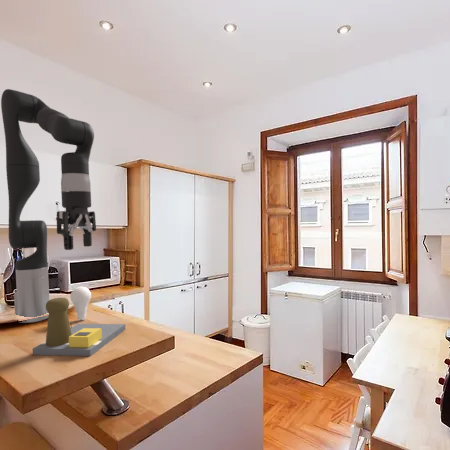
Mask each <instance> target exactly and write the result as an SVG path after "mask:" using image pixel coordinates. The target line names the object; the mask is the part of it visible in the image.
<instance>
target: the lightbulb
mask: <svg viewBox="0 0 450 450" xmlns="http://www.w3.org/2000/svg"><path fill="white" fill-rule="evenodd" d="M69 297H70V301H71V303H72V305H74V308H75V313H76V315H77V320H79V321H84V320H85V319H86V318H87V312H88V304H89V303H90V301H91V299H92V293H91V291H90V289H89V288H88V287H85V286H83V285H82V286H81V285H80V286H78V287H76V288H74V289H73V290H72V291H71V293H70V296H69Z"/></svg>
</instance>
